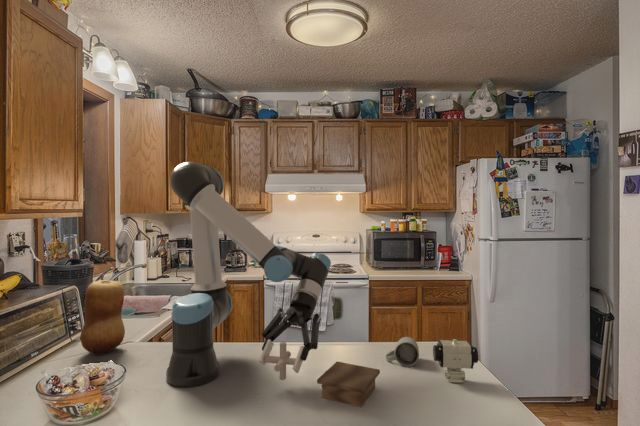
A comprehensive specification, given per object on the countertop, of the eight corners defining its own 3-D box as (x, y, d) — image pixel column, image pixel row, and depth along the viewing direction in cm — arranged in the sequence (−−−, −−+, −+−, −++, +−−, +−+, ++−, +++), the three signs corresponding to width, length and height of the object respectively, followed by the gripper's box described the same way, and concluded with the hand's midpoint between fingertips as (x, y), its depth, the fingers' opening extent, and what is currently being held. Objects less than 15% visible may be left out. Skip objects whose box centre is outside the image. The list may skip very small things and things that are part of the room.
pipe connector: (295, 389, 99) (295, 351, 99) (259, 385, 101) (259, 348, 101) (304, 372, 109) (304, 338, 109) (271, 369, 111) (271, 335, 111)
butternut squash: (123, 356, 127) (122, 283, 127) (76, 363, 122) (75, 286, 122) (126, 343, 140) (126, 276, 140) (84, 348, 135) (84, 279, 135)
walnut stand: (317, 398, 99) (317, 379, 99) (336, 378, 111) (336, 361, 111) (364, 409, 93) (364, 389, 93) (379, 387, 105) (379, 369, 105)
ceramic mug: (418, 357, 126) (418, 334, 126) (419, 367, 118) (418, 343, 118) (386, 355, 128) (385, 333, 128) (385, 365, 120) (384, 341, 120)
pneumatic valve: (432, 376, 112) (432, 335, 112) (473, 378, 110) (473, 337, 110) (436, 384, 106) (436, 342, 106) (479, 387, 105) (479, 344, 105)
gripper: (343, 308, 114) (319, 381, 100) (279, 299, 124) (250, 365, 110) (336, 294, 109) (310, 369, 95) (270, 286, 119) (238, 353, 105)
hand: (278, 367), depth 103 cm, fingers closed on pipe connector, 10 cm apart
